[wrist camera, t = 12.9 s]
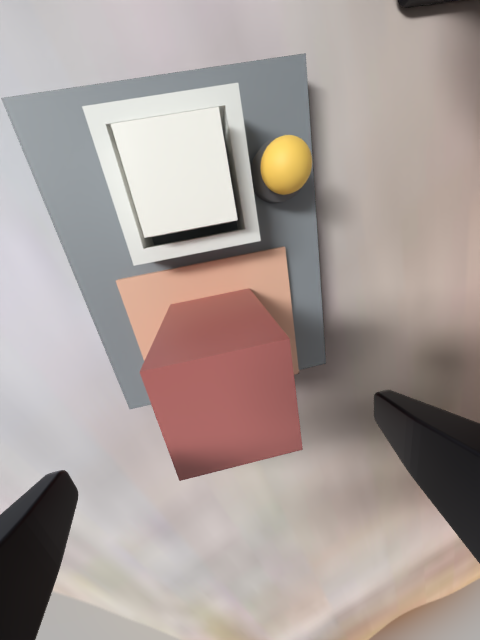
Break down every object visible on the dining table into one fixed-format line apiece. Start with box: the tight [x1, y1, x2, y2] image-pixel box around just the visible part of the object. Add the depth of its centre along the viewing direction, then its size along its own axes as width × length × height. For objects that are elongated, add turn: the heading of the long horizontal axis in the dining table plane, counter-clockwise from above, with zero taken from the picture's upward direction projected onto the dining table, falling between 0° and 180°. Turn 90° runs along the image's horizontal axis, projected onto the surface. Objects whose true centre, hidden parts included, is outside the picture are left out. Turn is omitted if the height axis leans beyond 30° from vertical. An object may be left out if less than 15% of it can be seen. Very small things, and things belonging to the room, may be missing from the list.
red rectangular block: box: [140, 288, 303, 481], centre depth 11 cm, size 4×4×7 cm
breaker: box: [111, 107, 238, 238], centre depth 10 cm, size 4×4×3 cm
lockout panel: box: [1, 53, 326, 409], centre depth 13 cm, size 13×16×4 cm
